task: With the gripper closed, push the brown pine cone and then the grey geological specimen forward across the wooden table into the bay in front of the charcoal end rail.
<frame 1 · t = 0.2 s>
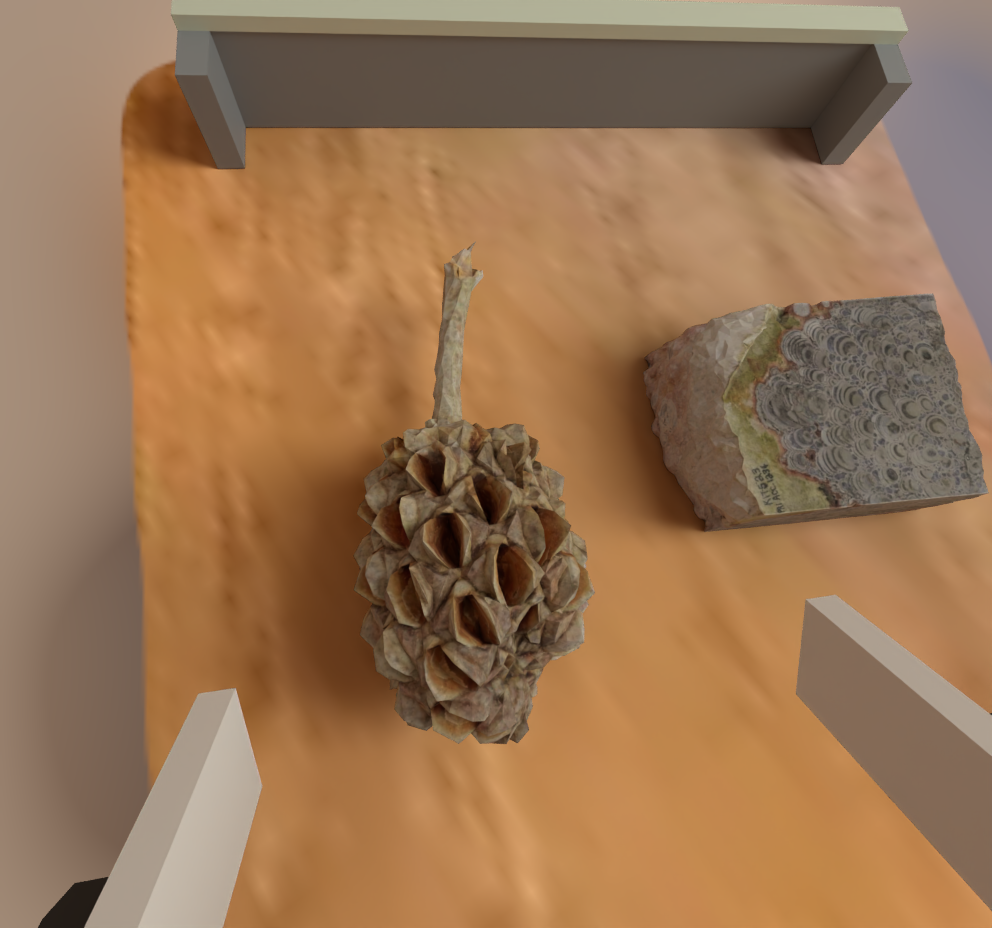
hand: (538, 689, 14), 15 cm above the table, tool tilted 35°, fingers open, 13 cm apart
pine cone: (457, 496, 31), on the table
geological specimen: (779, 435, 34), on the table
end rail: (560, 227, 36), on the table
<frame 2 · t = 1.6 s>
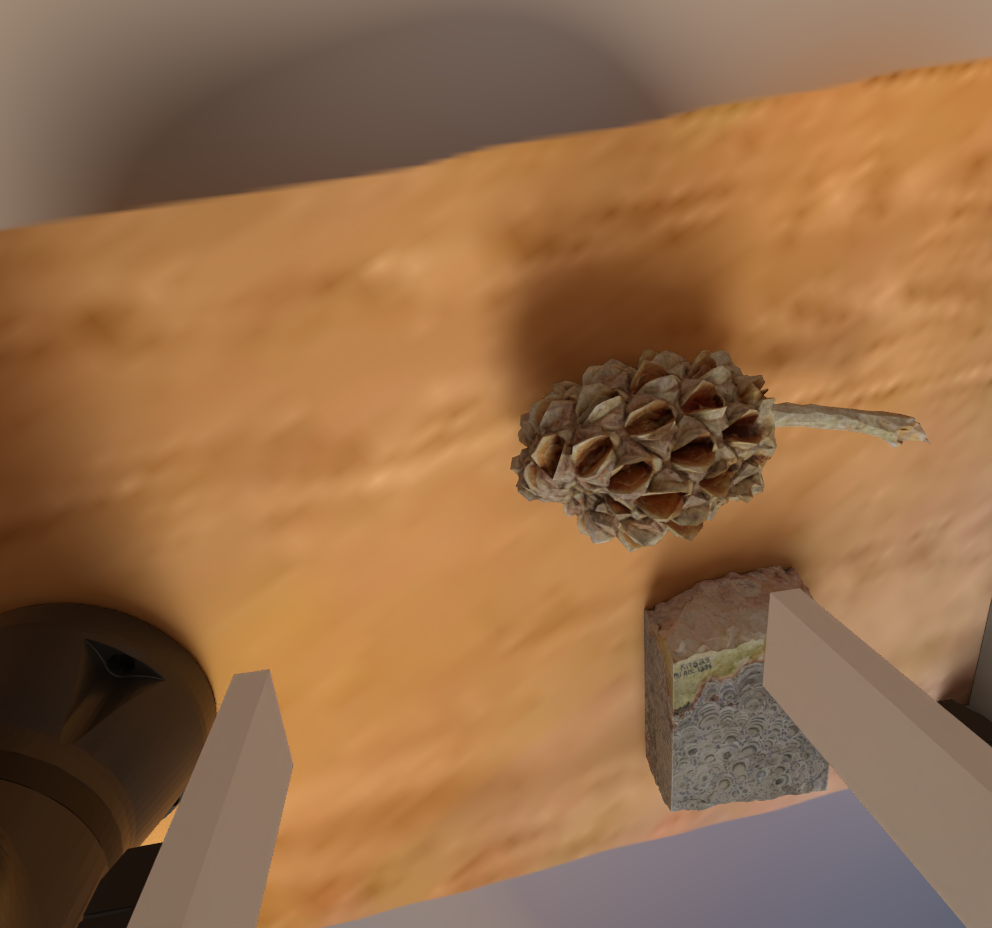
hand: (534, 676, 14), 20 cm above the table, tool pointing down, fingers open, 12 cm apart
pine cone: (681, 412, 35), on the table
geological specimen: (712, 665, 41), on the table
end rail: (915, 497, 39), on the table
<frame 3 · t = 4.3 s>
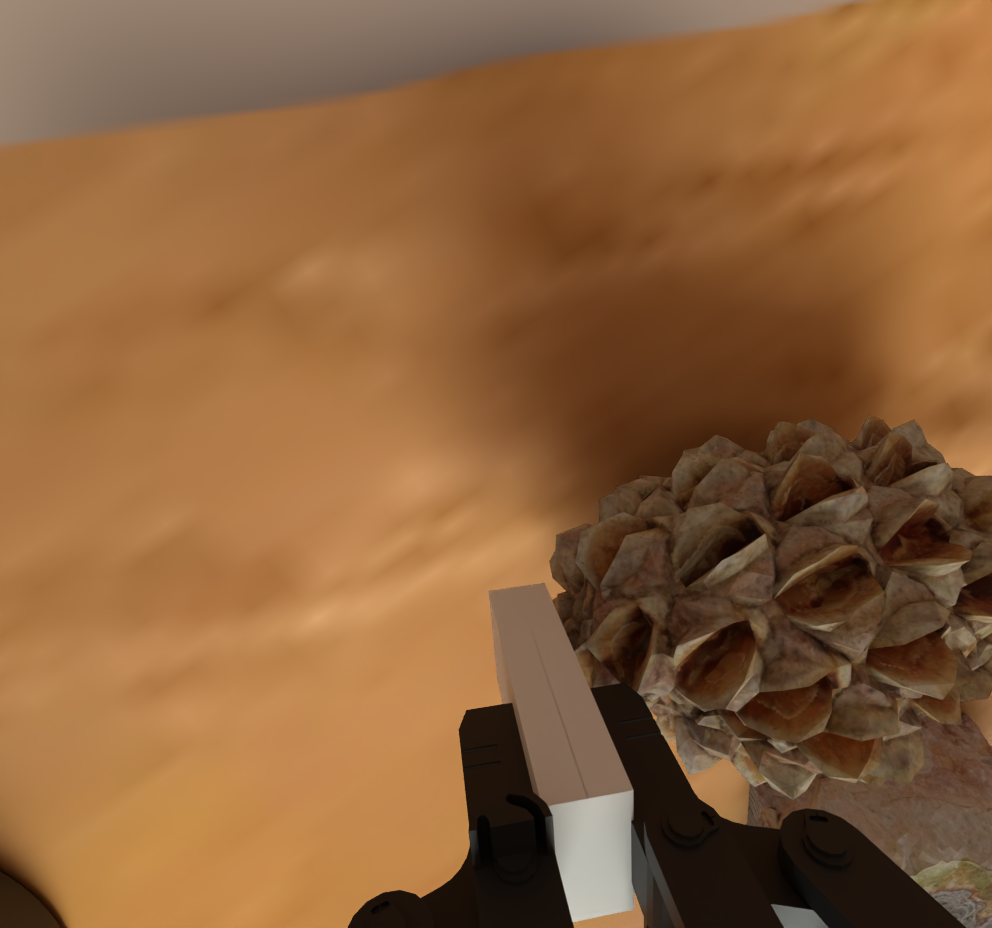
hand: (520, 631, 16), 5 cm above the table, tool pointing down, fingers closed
pine cone: (800, 501, 22), on the table, touching gripper
geological specimen: (837, 843, 29), on the table
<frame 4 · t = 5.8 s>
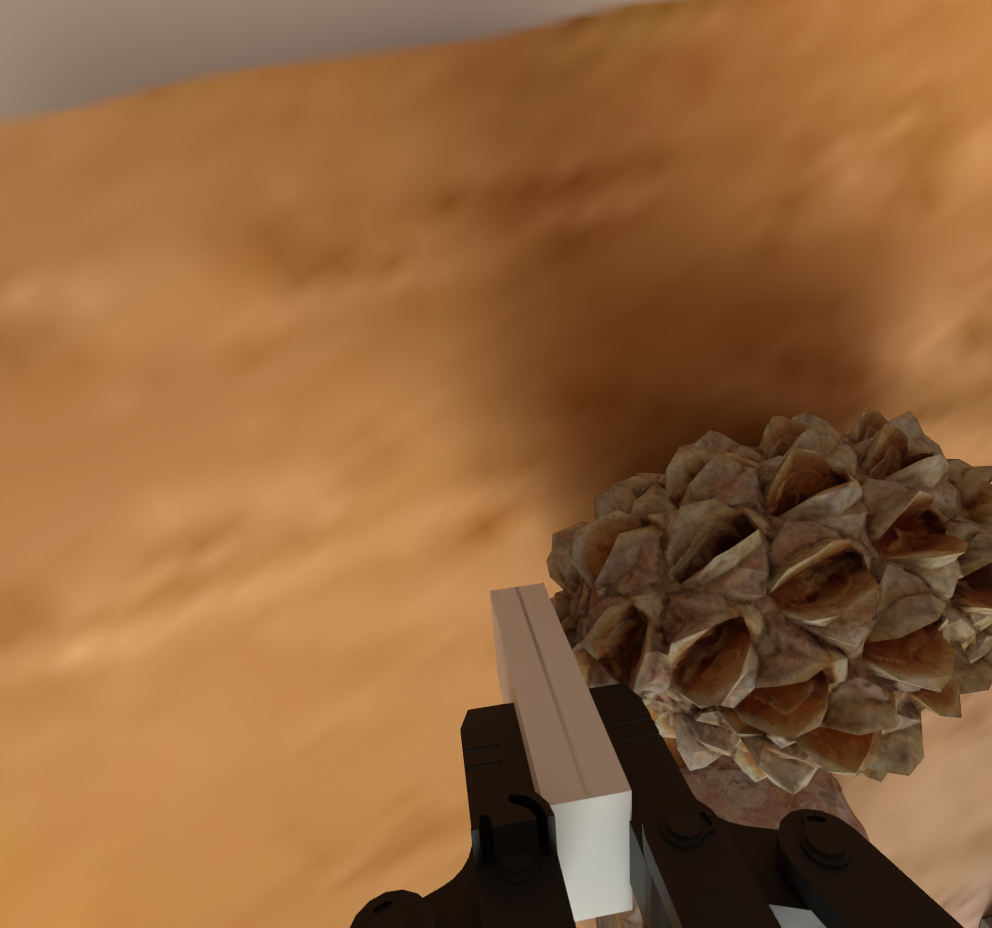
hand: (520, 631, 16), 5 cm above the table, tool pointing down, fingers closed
pine cone: (799, 495, 22), on the table, touching gripper
geological specimen: (696, 873, 28), on the table
end rail: (967, 642, 25), on the table
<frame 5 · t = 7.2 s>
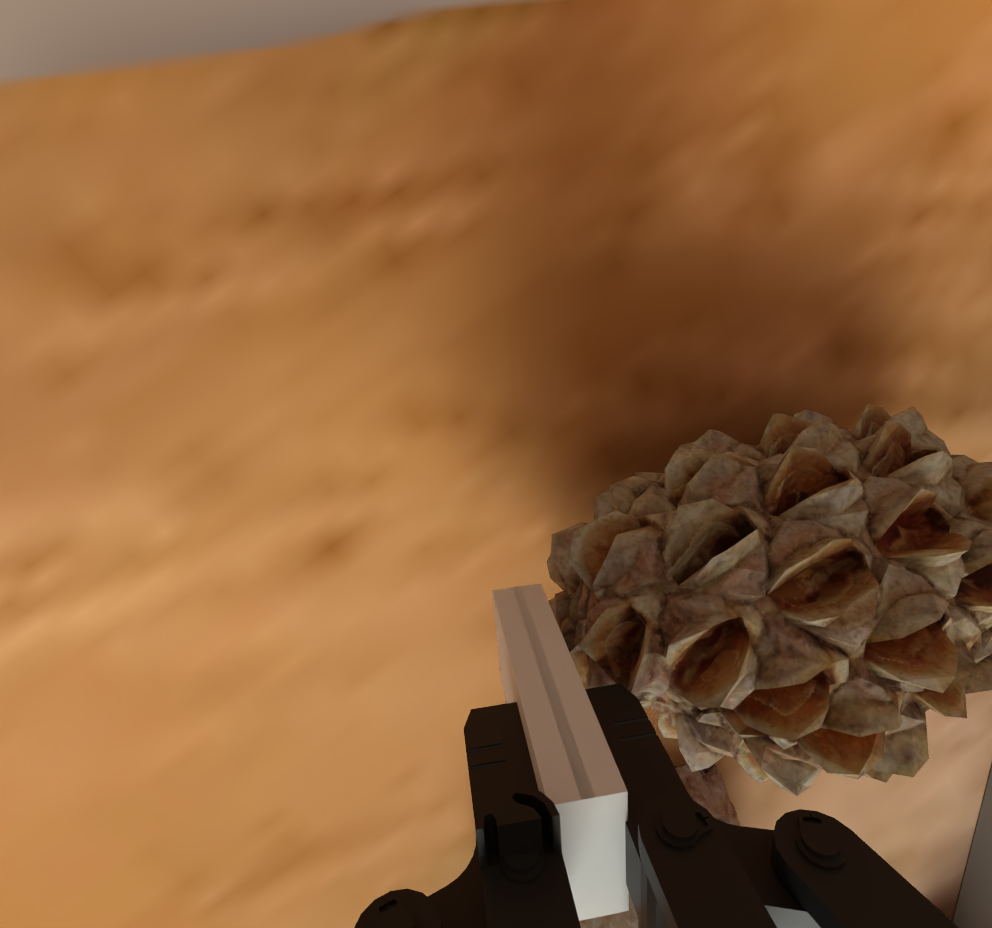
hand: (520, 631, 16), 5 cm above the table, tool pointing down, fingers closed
pine cone: (804, 492, 22), on the table, touching end rail, gripper
geological specimen: (602, 896, 28), on the table
end rail: (859, 665, 24), on the table
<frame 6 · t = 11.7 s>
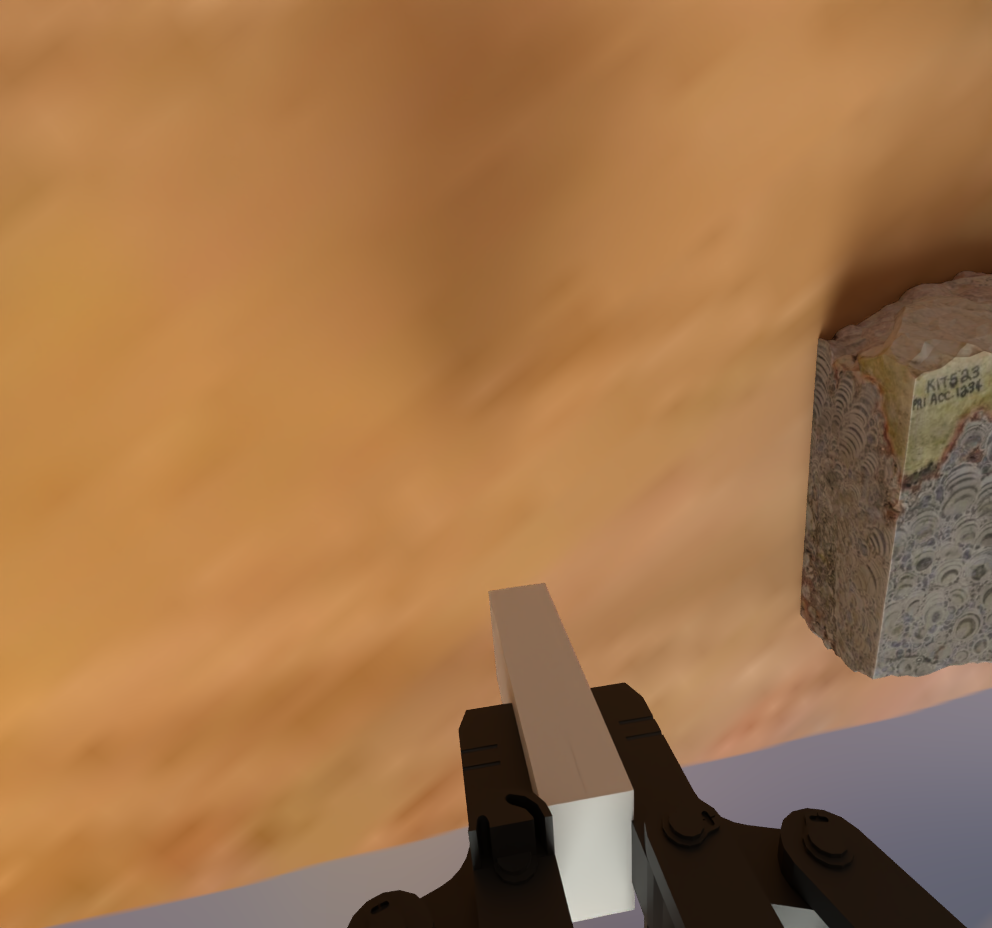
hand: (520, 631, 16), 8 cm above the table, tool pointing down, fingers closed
geological specimen: (910, 457, 26), on the table
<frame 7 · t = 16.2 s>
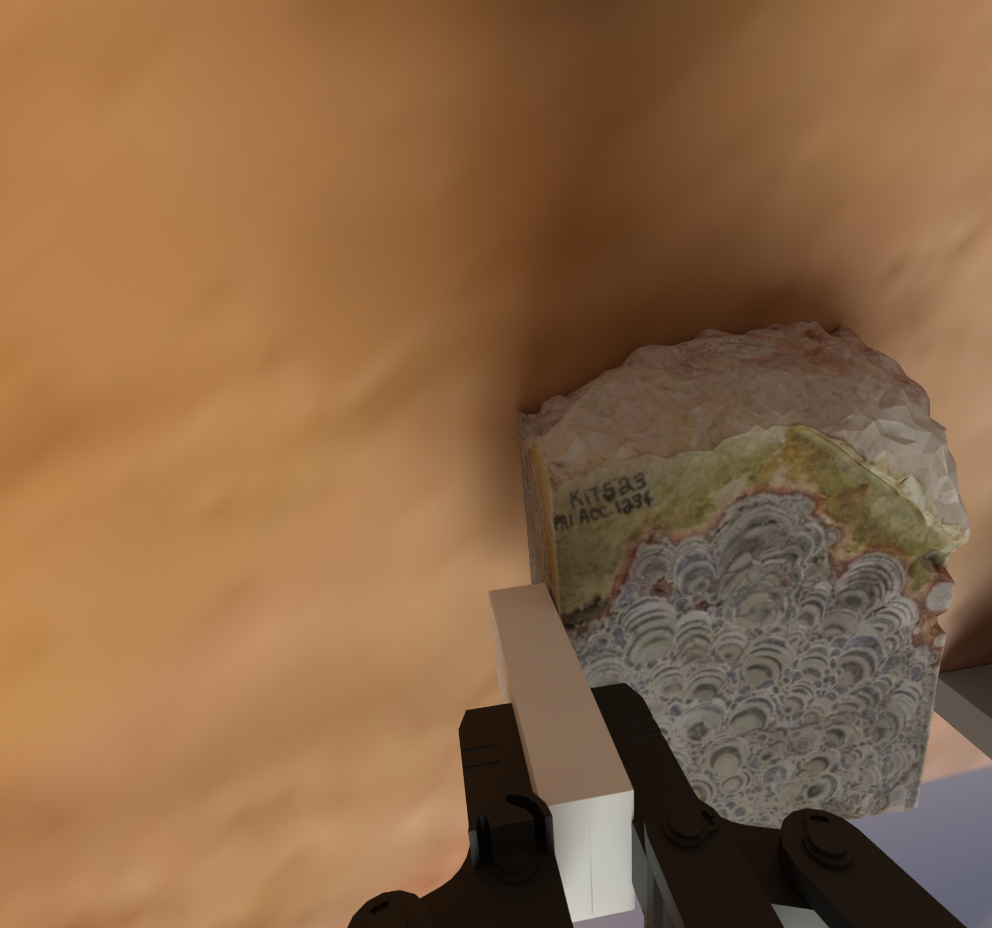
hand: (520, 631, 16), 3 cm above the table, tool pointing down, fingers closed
geological specimen: (674, 554, 20), on the table
end rail: (892, 163, 17), on the table
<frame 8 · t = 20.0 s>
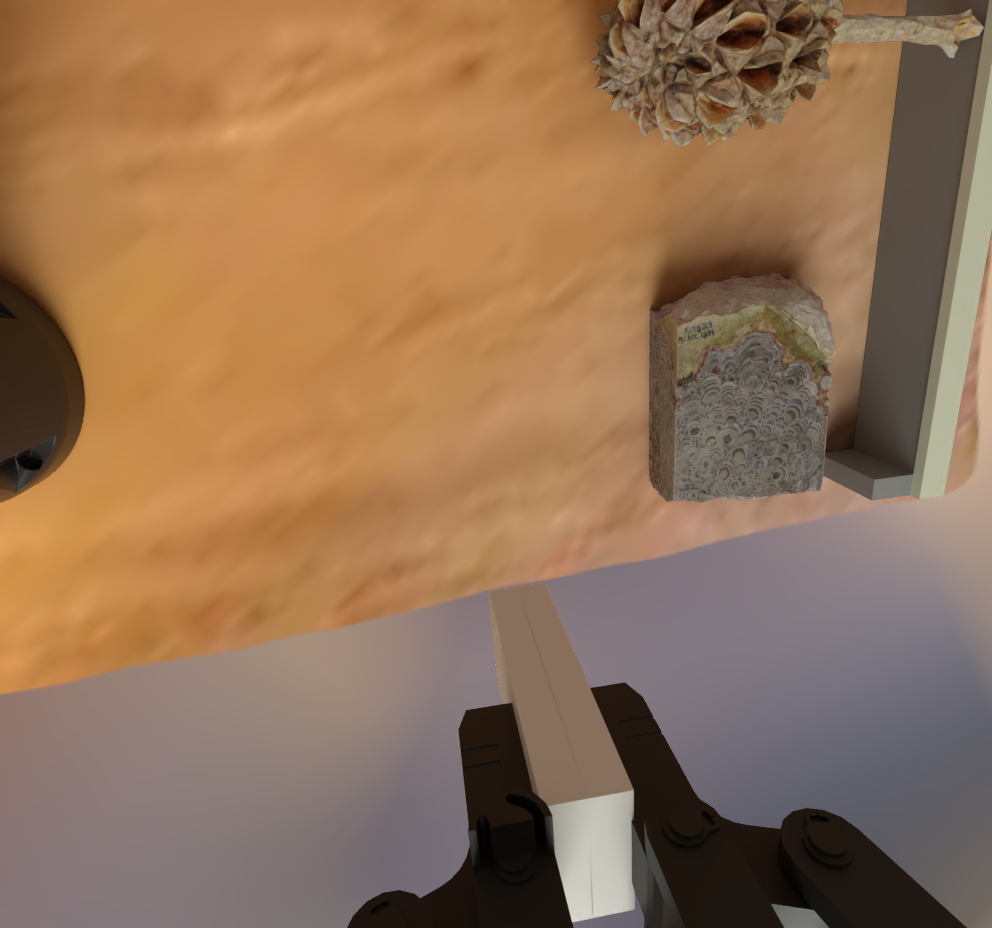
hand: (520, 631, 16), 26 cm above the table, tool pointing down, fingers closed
pine cone: (741, 62, 37), on the table
geological specimen: (713, 385, 43), on the table
end rail: (780, 199, 39), on the table
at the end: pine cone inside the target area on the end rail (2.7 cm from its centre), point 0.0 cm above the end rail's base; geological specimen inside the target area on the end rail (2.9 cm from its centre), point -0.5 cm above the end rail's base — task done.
